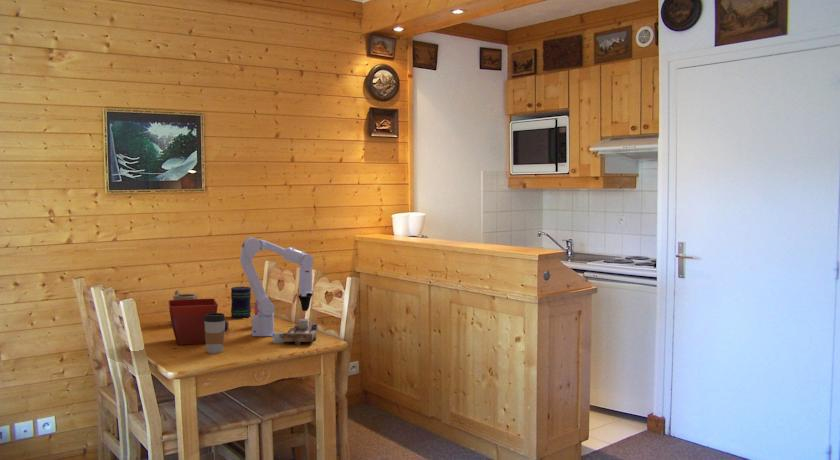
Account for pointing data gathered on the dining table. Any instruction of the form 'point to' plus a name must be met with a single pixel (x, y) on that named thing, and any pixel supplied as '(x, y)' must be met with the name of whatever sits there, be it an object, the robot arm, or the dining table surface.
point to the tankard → (183, 297)
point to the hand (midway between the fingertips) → (305, 309)
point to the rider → (303, 324)
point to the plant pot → (190, 319)
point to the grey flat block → (301, 334)
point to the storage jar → (240, 302)
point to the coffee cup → (214, 332)
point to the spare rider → (278, 337)
